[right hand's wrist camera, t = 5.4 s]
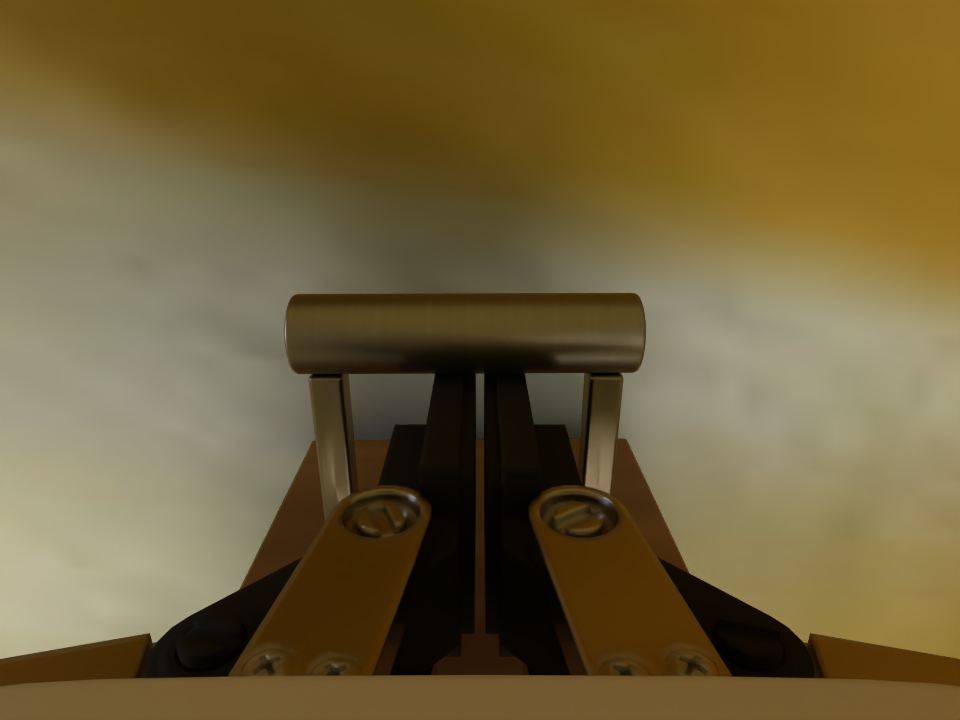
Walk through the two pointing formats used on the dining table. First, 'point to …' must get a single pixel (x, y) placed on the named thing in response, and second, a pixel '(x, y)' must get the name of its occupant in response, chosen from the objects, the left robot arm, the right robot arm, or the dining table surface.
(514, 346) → the drawer
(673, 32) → the dining table surface
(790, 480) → the dining table surface
